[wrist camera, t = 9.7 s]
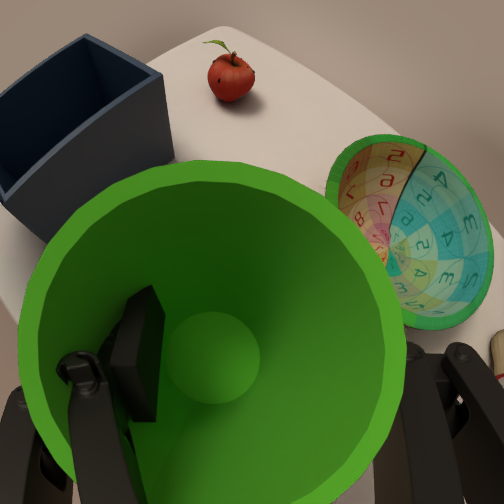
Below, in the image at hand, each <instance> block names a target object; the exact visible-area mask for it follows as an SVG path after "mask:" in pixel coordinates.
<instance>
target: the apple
mask: <svg viewBox="0 0 504 504" xmlns="http://www.w3.org/2000/svg"><path fill="white" fill-rule="evenodd" d="M203 43H217V44H219V45H221V46H222V47H224V48H225V49H226V50H227V51H228V52H229V50H228V49H227V47H226V46H225V44H224V42H221V41H219V40H213V41H209V42H203ZM229 53H230V52H229ZM236 55H237V53H236V52H235V51H234V52H233V53H232V54H231V53H230V54H224V55H221V56H219V57H218V58H217V59H216V60H214V61H213V64H212V65H211V67H210V69H209V71H208V83H209V86H210V88H211V90H212V91H213V93H214V94H215V96H216V97H217V98H219V99H221V100H223V101H225V102H228V103H229V102H233V101H235V100H236V99H238V98H240V97H242V96H243V95H245V94H246V93H247V92H248V91H249V90H250V89H251V88H252V86H253V84H254V82H255V75H254V74H255V72H254V70H252V68H251V67H250V66H249V65H248V64H247V63H246V62H245V61H243V60H242V58H239V57H237V56H236Z"/></svg>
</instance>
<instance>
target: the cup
mask: <svg viewBox="0 0 504 504" xmlns="http://www.w3.org/2000/svg"><path fill="white" fill-rule="evenodd" d="M149 285H152V286H153V288H154V290H155V293H156V295H157V297H158V299H159V301H160V303H161V306H162V308H163V310H164V312H165V314H166V316H165V324H164V333H163V343H162V353H161V364H160V375H159V388H158V402H157V418H156V422H133V420H132V418H131V415H130V413H129V421H128V426H129V428H130V430H131V435H132V439H133V443H134V447H135V451H136V456H137V461H138V465H139V470H140V474H141V478H142V482H143V486H144V490H145V494H146V498H147V502H148V504H331V503H332V502H333V501H334V500H335V499H337V498H338V497H339V496H340V495H341V494H342V493H343V492H345V491H346V490H347V489H348V488H349V487H350V486H351V485H352V484H353V483H355V482H356V481H357V480H358V479H359V478H360V477H361V476H362V474H363V473H364V472H365V470H366V469H367V467H368V466H369V464H370V463H371V462H372V460H373V459H374V457H375V456H376V454H377V453H378V451H379V450H380V448H381V447H382V445H383V443H384V442H385V440H386V439H387V437H388V434H389V432H390V429H391V426H392V424H393V421H394V418H395V415H396V412H397V410H398V407H399V404H400V401H401V397H402V394H403V387H404V378H405V366H406V353H407V345H406V338H405V331H404V325H403V319H402V313H401V307H400V302H399V300H398V297H397V295H396V292H395V290H394V287H393V285H392V283H391V280H390V278H389V275H388V273H387V271H386V268H385V266H384V264H383V262H382V260H381V259H380V257H379V256H378V254H377V253H376V251H375V250H374V249H373V247H372V246H371V245H370V243H369V242H368V240H367V239H366V238H365V236H364V235H363V234H362V232H361V231H360V230H359V228H358V227H357V226H356V224H355V223H353V222H352V221H351V220H350V219H349V218H348V217H347V216H345V215H344V214H343V213H342V212H341V211H340V210H339V209H337V208H336V207H335V206H334V205H333V204H332V203H331V202H329V201H328V200H327V199H326V198H325V197H323V196H322V195H321V194H319V193H317V192H315V191H313V190H311V189H310V188H308V187H306V186H304V185H302V184H300V183H299V182H297V181H295V180H293V179H291V178H289V177H287V176H285V175H283V174H280V173H277V172H273V171H270V170H266V169H263V168H259V167H256V166H252V165H248V164H245V163H241V162H227V161H208V160H193V161H187V162H181V163H175V164H169V165H163V166H158V167H153V168H150V169H148V170H145V171H143V172H140V173H138V174H135V175H133V176H131V177H128V178H126V179H124V180H121V181H119V182H117V183H114V184H112V185H111V186H109V187H108V188H106V189H105V190H104V191H102V192H101V193H99V194H98V195H97V196H95V197H94V198H92V199H91V200H90V201H88V202H87V203H86V204H84V205H83V206H82V207H80V208H79V209H78V210H76V211H75V213H74V214H73V215H72V216H71V217H70V218H69V219H68V221H67V222H66V223H65V224H64V225H63V226H62V227H61V229H60V230H59V231H58V232H57V233H56V235H55V236H54V237H53V238H52V239H51V241H50V242H49V243H48V245H47V246H46V248H45V250H44V252H43V254H42V256H41V258H40V260H39V262H38V264H37V266H36V268H35V270H34V272H33V274H32V276H31V278H30V280H29V282H28V285H27V289H26V293H25V297H24V301H23V306H22V310H21V315H20V320H19V325H18V365H19V377H20V381H21V385H22V388H23V392H24V396H25V399H26V403H27V406H28V409H29V413H30V416H31V419H32V421H33V423H34V425H35V427H36V429H37V431H38V432H39V434H40V436H41V438H42V440H43V441H44V443H45V445H46V446H47V448H48V450H49V451H50V453H51V455H52V456H53V458H54V459H55V461H56V463H57V464H58V465H59V466H60V467H61V468H62V469H63V470H64V471H65V472H66V473H67V474H68V476H69V477H70V478H71V479H72V480H73V481H74V482H75V483H76V484H77V481H76V476H75V470H74V463H73V457H72V449H71V441H70V433H69V423H68V411H67V409H68V404H69V400H70V395H71V391H72V390H71V389H72V385H73V383H72V382H71V381H70V380H68V386H67V385H66V384H65V383H64V382H63V381H62V380H61V378H60V377H59V376H58V374H57V372H56V367H57V364H58V362H59V361H60V360H61V358H63V357H64V356H66V355H67V354H68V353H71V352H74V351H80V350H86V351H90V352H92V353H94V354H95V355H97V353H98V351H99V349H100V346H101V345H102V344H103V342H104V340H105V339H106V338H107V336H109V333H110V332H111V330H112V329H113V328H114V326H115V325H116V324H117V323H118V322H119V321H120V320H121V319H122V316H123V313H124V309H125V306H126V303H127V299H128V298H129V297H131V296H132V295H134V294H135V293H137V292H138V291H140V290H141V289H143V288H145V287H147V286H149ZM124 437H125V439H126V441H127V443H128V444H129V442H128V440H127V438H126V436H124ZM129 446H130V444H129ZM130 448H131V446H130ZM131 449H132V448H131ZM132 451H133V450H132Z"/></svg>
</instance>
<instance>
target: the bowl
mask: <svg viewBox="0 0 504 504" xmlns="http://www.w3.org/2000/svg"><path fill="white" fill-rule="evenodd" d="M325 198H326V199H327V200H328V201H329V202H331V203H332V204H333V205H334V206H335V207H336V208H337V209H339V210H340V211H341V212H342V213H343V214H344V215H345V216H347V217H348V218H349V219H350V220H351V221H352V222H353V223H355V224H356V226H357V227H358V228H359V230H360V231H361V232H362V234H363V235H364V236H365V238H366V239H367V240H368V242H369V243H370V245H371V246H372V247H373V249H374V250H375V251H376V253H377V254H378V256H379V257H380V259H381V260H382V262H383V264H384V266H385V268H386V271H387V273H388V275H389V278H390V280H391V283H392V285H393V287H394V290H395V292H396V295H397V297H398V300H399V302H400V307H401V313H402V319H403V324H405V325H407V326H410V327H412V328H417V329H422V330H443V329H447V328H451V327H454V326H456V325H458V324H460V323H462V322H464V321H465V320H467V319H468V318H469V317H470V316H471V315H472V314H474V313H475V311H476V310H477V309H478V307H479V306H480V305H481V304H482V302H483V300H484V298H485V296H486V294H487V292H488V289H489V286H490V283H491V279H492V274H493V268H494V248H493V239H492V234H491V229H490V225H489V222H488V219H487V216H486V214H485V211H484V209H483V207H482V204H481V202H480V200H479V198H478V197H477V195H476V193H475V192H474V190H473V188H472V187H471V186H470V184H469V183H468V181H467V180H466V178H465V177H464V176H463V175H462V174H461V173H460V172H459V171H458V169H457V168H456V167H455V166H454V165H453V164H451V163H450V162H449V161H448V160H447V159H446V158H445V157H443V156H442V155H441V154H439V153H438V152H436V151H435V150H433V149H432V148H430V147H428V146H427V145H425V144H423V143H420V142H418V141H416V140H413V139H410V138H406V137H403V136H398V135H391V134H380V135H373V136H368V137H365V138H362V139H360V140H357V141H355V142H354V143H352V144H351V145H350V146H348V147H347V148H345V150H344V151H343V152H342V153H341V154H340V155H339V156H338V157H337V159H336V161H335V163H334V164H333V166H332V168H331V170H330V173H329V176H328V179H327V184H326V191H325Z"/></svg>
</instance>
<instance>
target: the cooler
mask: <svg viewBox="0 0 504 504" xmlns="http://www.w3.org/2000/svg"><path fill="white" fill-rule="evenodd" d="M173 158H175V156H174V149H173V143H172V137H171V130H170V123H169V116H168V109H167V102H166V95H165V87H164V79H163V74H161V73H160V72H157V71H156V70H154V69H152V68H151V67H149V66H147V65H145V64H143V63H142V62H140V61H138V60H136V59H135V58H133V57H131V56H129V55H127V54H125V53H124V52H122V51H120V50H118V49H116V48H114V47H112V46H110V45H108V44H107V43H105V42H103V41H101V40H99V39H97V38H95V37H93V36H91V35H89V34H87V33H86V34H84V35H82V36H81V37H79V38H77V39H76V40H74V41H72V42H71V43H69V44H68V45H66V46H64V47H63V48H61V49H60V50H58V51H57V52H55V53H54V54H52V55H51V56H49V57H48V58H46V59H45V60H43V61H42V62H41V63H39V64H38V65H36V66H35V67H34V68H33V69H31V70H30V71H28V72H27V73H26V74H24V75H23V76H22V77H20V78H19V79H18V80H17V81H15V82H14V83H13V84H12V85H10V86H9V87H8V88H7V89H6V90H4V91H3V92H2V93H1V94H0V197H1V201H0V202H1V204H2V205H3V206H4V207H5V208H6V209H7V210H8V211H9V212H10V213H11V214H12V215H14V216H15V217H16V218H17V219H18V220H19V221H20V222H21V223H23V224H24V225H25V226H26V227H27V228H28V229H29V230H31V231H32V232H33V233H34V234H35V235H37V236H38V237H39V238H40V239H41V240H43V241H44V242H45V243H46V244H47V245H48V243H49V242H50V241H51V239H52V238H53V237H54V236H55V235H56V233H57V232H58V231H59V230H60V229H61V227H62V226H63V225H64V224H65V223H66V222H67V221H68V219H69V218H70V217H71V216H72V215H73V214H74V213H75V211H76V210H78V209H79V208H80V207H82V206H83V205H84V204H86V203H87V202H88V201H90V200H91V199H92V198H94V197H95V196H97V195H98V194H99V193H101V192H102V191H104V190H105V189H106V188H108V187H109V186H111V185H112V184H114V183H117V182H119V181H121V180H124V179H126V178H128V177H131V176H133V175H135V174H138V173H140V172H143V171H145V170H148V169H150V168H153V167H158V166H163V165H166V164H167V163H169V162H170V161H171V160H172V159H173Z"/></svg>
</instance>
